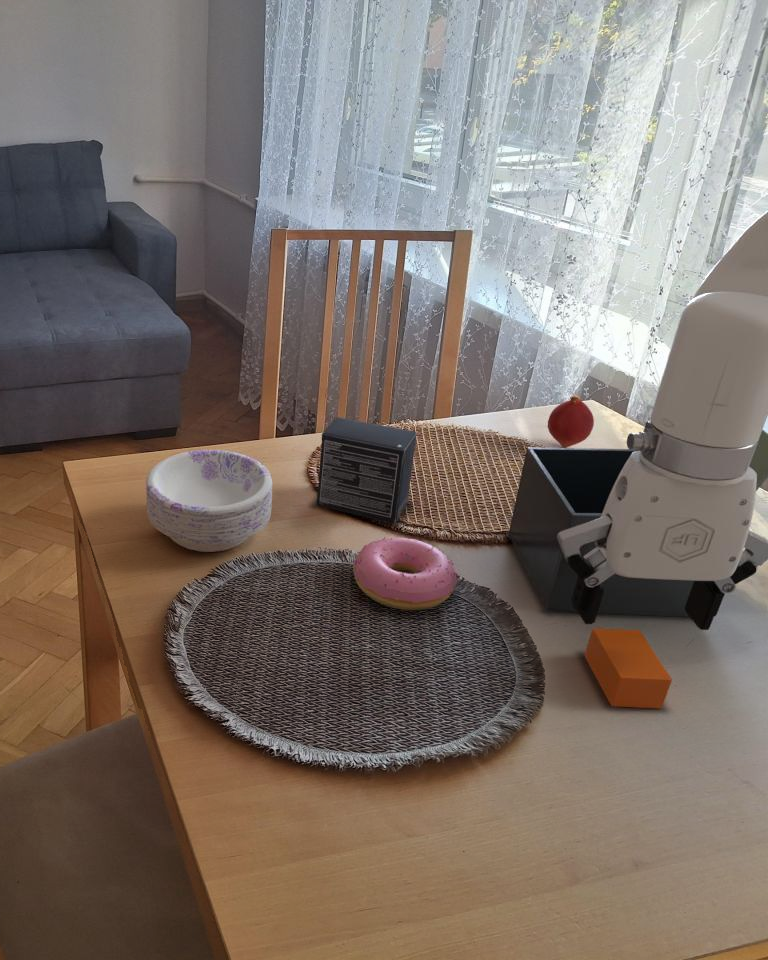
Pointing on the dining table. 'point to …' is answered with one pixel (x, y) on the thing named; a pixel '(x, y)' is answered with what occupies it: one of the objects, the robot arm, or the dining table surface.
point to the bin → (571, 502)
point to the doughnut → (399, 590)
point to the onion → (571, 422)
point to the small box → (365, 469)
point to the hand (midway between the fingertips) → (639, 617)
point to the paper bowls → (209, 498)
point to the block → (627, 668)
